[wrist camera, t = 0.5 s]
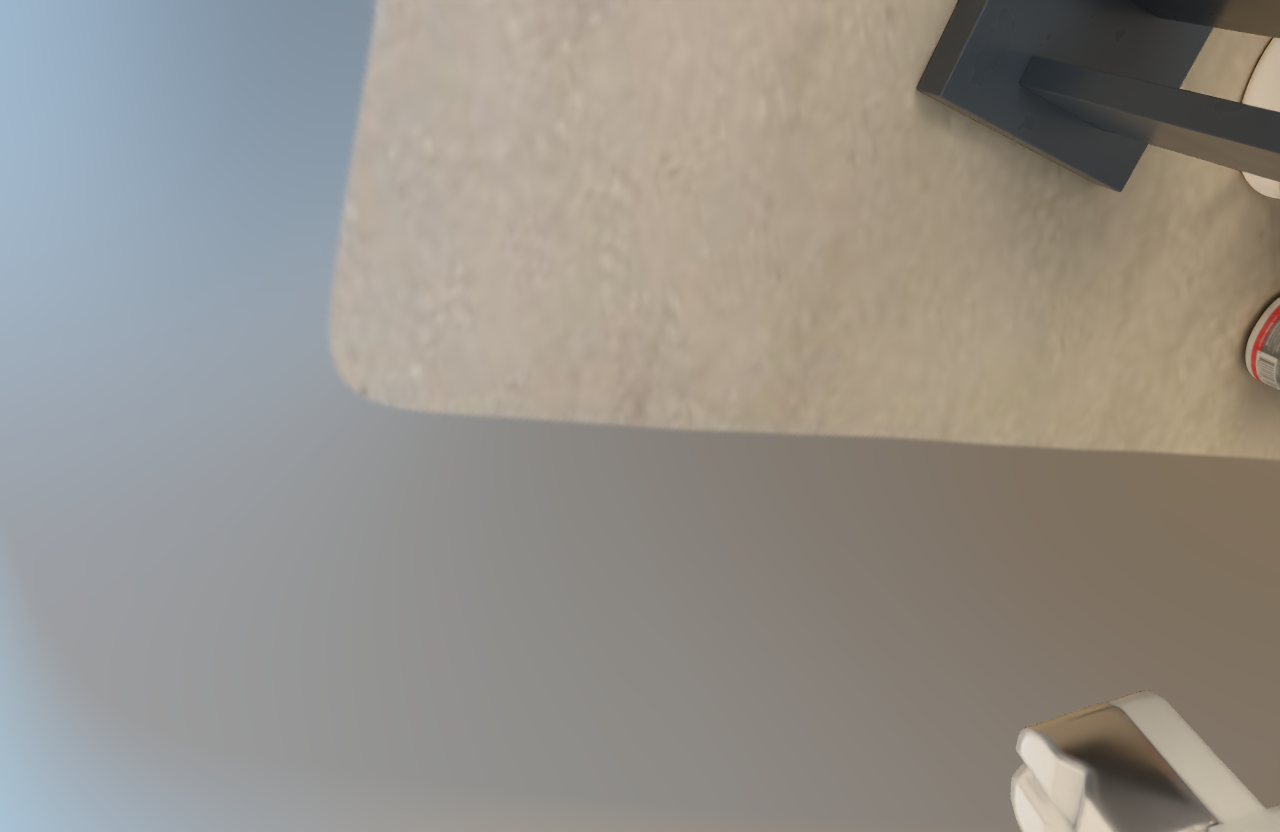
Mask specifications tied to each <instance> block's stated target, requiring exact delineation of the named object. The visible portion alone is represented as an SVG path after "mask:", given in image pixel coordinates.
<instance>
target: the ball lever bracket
mask: <svg viewBox="0 0 1280 832" xmlns="http://www.w3.org/2000/svg"><path fill="white" fill-rule="evenodd" d="M1213 27H1215V28H1221V29H1227V30H1233V31H1239V32H1245V33H1251V34H1257V35H1263V36H1269V37H1275V38H1280V0H959V2H958V4H957V6H956V8H955V10H954V12H953V15H952V17H951V19H950V21H949V23H948V25H947V27H946V29H945V31H944V33H943V35H942V37H941V39H940V41H939V43H938V45H937V48H936V50H935V52H934V54H933V56H932V58H931V60H930V62H929V64H928V66H927V68H926V70H925V72H924V74H923V76H922V78H921V81H920V83H919V85H918V87H917V90H918V91H920V92H922V93H924V94H926V95H928V96H930V97H932V98H934V99H935V100H937V101H939V102H941V103H943V104H945V105H947V106H949V107H951V108H953V109H954V110H956V111H958V112H960V113H962V114H964V115H966V116H968V117H970V118H972V119H973V120H975V121H977V122H979V123H981V124H983V125H985V126H987V127H989V128H991V129H992V130H994V131H996V132H998V133H1000V134H1002V135H1004V136H1006V137H1008V138H1009V139H1011V140H1013V141H1015V142H1017V143H1019V144H1021V145H1023V146H1025V147H1027V148H1028V149H1030V150H1032V151H1034V152H1036V153H1038V154H1040V155H1042V156H1044V157H1046V158H1047V159H1049V160H1051V161H1053V162H1055V163H1057V164H1059V165H1061V166H1063V167H1065V168H1066V169H1068V170H1070V171H1072V172H1074V173H1076V174H1078V175H1080V176H1082V177H1084V178H1085V179H1087V180H1089V181H1091V182H1093V183H1095V184H1097V185H1100V186H1103V187H1106V188H1109V189H1112V190H1115V191H1117V192H1121V191H1122V190H1123V188H1124V186H1125V184H1126V182H1127V181H1128V179H1129V177H1130V175H1131V173H1132V172H1133V170H1134V168H1135V166H1136V165H1137V163H1138V161H1139V159H1140V157H1141V156H1142V154H1143V152H1144V150H1145V148H1146V147H1147V145H1148V144H1151V145H1154V146H1158V147H1161V148H1164V149H1168V150H1171V151H1175V152H1178V153H1182V154H1185V155H1188V156H1192V157H1195V158H1199V159H1202V160H1206V161H1209V162H1212V163H1216V164H1219V165H1223V166H1226V167H1229V168H1233V169H1236V170H1240V171H1243V172H1247V173H1250V174H1253V175H1257V176H1260V177H1264V178H1267V179H1271V180H1274V181H1277V182H1280V112H1277V111H1273V110H1269V109H1264V108H1260V107H1256V106H1251V105H1247V104H1243V103H1238V102H1234V101H1230V100H1226V99H1221V98H1217V97H1213V96H1208V95H1204V94H1200V93H1195V92H1191V91H1187V90H1182V89H1179V88H1180V86H1181V84H1182V83H1183V81H1184V79H1185V77H1186V75H1187V74H1188V72H1189V70H1190V68H1191V66H1192V65H1193V63H1194V61H1195V59H1196V58H1197V56H1198V54H1199V52H1200V50H1201V49H1202V47H1203V45H1204V43H1205V41H1206V40H1207V38H1208V36H1209V34H1210V33H1211V31H1212V29H1213Z"/></svg>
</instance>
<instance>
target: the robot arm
mask: <svg viewBox="0 0 1280 832" xmlns="http://www.w3.org/2000/svg"><path fill="white" fill-rule="evenodd" d="M1016 751H1017V752H1018V753H1019V755H1020V756H1021V758H1022V759H1023V761H1024V763H1023V764H1022V765H1021V766H1020V767H1019V769H1018V770H1017V771H1016V772H1015V773H1014V775H1013V776H1012V784H1011V796H1010V797H1011V800H1012V804H1013V808H1014V812H1015V816H1016V820H1017V822H1018V825H1019V827H1020V829H1021V830H1022V832H1280V806H1279V805H1277V806H1273V807H1269V808H1265V807H1264V806H1263V805H1262V804H1261V803H1260V802H1259V800H1258V799H1257V798H1256V797H1255V796H1254V795H1253V794H1252V793H1251V792H1250V791H1249V790H1248V789H1247V787H1246V786H1245V785H1244V784H1243V783H1242V782H1241V781H1240V780H1239V779H1238V778H1237V777H1236V776H1235V775H1234V774H1233V772H1232V771H1231V770H1230V769H1229V768H1228V767H1227V766H1226V765H1225V764H1224V763H1223V762H1222V761H1221V759H1220V758H1219V757H1218V756H1217V755H1216V754H1215V753H1214V752H1213V751H1212V750H1211V749H1210V748H1209V747H1208V745H1207V744H1206V743H1204V741H1203V740H1202V739H1201V738H1200V737H1199V736H1198V735H1197V734H1196V733H1195V731H1194V730H1193V729H1192V728H1191V727H1190V726H1189V725H1188V724H1187V723H1186V722H1185V721H1184V720H1183V719H1182V717H1181V716H1180V715H1179V714H1178V713H1177V712H1176V711H1175V710H1174V709H1173V708H1172V707H1171V706H1170V705H1169V703H1168V702H1167V701H1166V700H1165V699H1164V698H1163V697H1162V696H1160V695H1158V694H1157V693H1155V692H1153V691H1151V690H1148V691H1139V692H1136V693H1133V694H1130V695H1127V696H1124V697H1121V698H1118V699H1115V700H1112V701H1108V702H1106V703H1103V702H1102V703H1098V704H1095V705H1092V706H1089V707H1086V708H1083V709H1080V710H1077V711H1074V712H1071V713H1068V714H1064V715H1062V716H1058V717H1055V718H1052V719H1049V720H1046V721H1043V722H1040V723H1037V724H1034V725H1031V726H1028V727H1025V728H1024V729H1023V730H1022V731H1021V732H1020V733H1019V735H1018V740H1017V746H1016Z"/></svg>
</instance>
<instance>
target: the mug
mask: <svg viewBox="0 0 1280 832" xmlns="http://www.w3.org/2000/svg"><path fill="white" fill-rule="evenodd" d="M1242 103H1243V104H1247V105H1251V106H1256V107H1260V108H1264V109H1269V110H1273V111H1277V112H1280V38H1275V37H1274V38H1273V39H1272V41H1271V42H1270V44H1269V45H1268V47H1267V48H1266V50H1265V51H1264V53H1263V55H1262V56H1261V58H1260V60H1259V62H1258V64H1257V66H1256V68H1255V70H1254V72H1253V74H1252V76H1251V79H1250V81H1249V84H1248V86H1247V89H1246V92H1245V95H1244V98H1243V101H1242ZM1242 173H1243V175H1244V177H1245V179H1246V180H1247V182H1248V183H1249V184H1250V186H1251V187H1252V188H1254V189H1255V190H1256V191H1257V192H1259V193H1261V194H1263V195H1265V196H1268V197H1271V198H1276V199H1280V182H1277V181H1274V180H1271V179H1267V178H1264V177H1260V176H1257V175H1253V174H1250V173H1247V172H1243V171H1242Z"/></svg>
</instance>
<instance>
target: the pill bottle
mask: <svg viewBox="0 0 1280 832" xmlns="http://www.w3.org/2000/svg"><path fill="white" fill-rule="evenodd" d="M1245 360H1246V366H1247V368H1248V371H1249V372H1250V374H1251V375H1252V376H1253V377H1254V378H1256V379H1257V380H1259V381H1261V382H1263V383H1265V384H1267V385H1269V386H1272V387H1274V388H1276V389H1278V390H1280V297H1279V298H1278V299H1276V300H1275V301H1274V302H1273V303H1272V304H1271V305H1270V306H1269V307H1268V308H1267V309H1266V311H1265V312H1264V313H1263V314H1262V316H1261V317H1260V319H1259V320H1258V322H1257V324H1256V325H1255V327H1254V329H1253V331H1252V333H1251V335H1250V337H1249V340H1248V343H1247V347H1246V353H1245Z"/></svg>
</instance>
